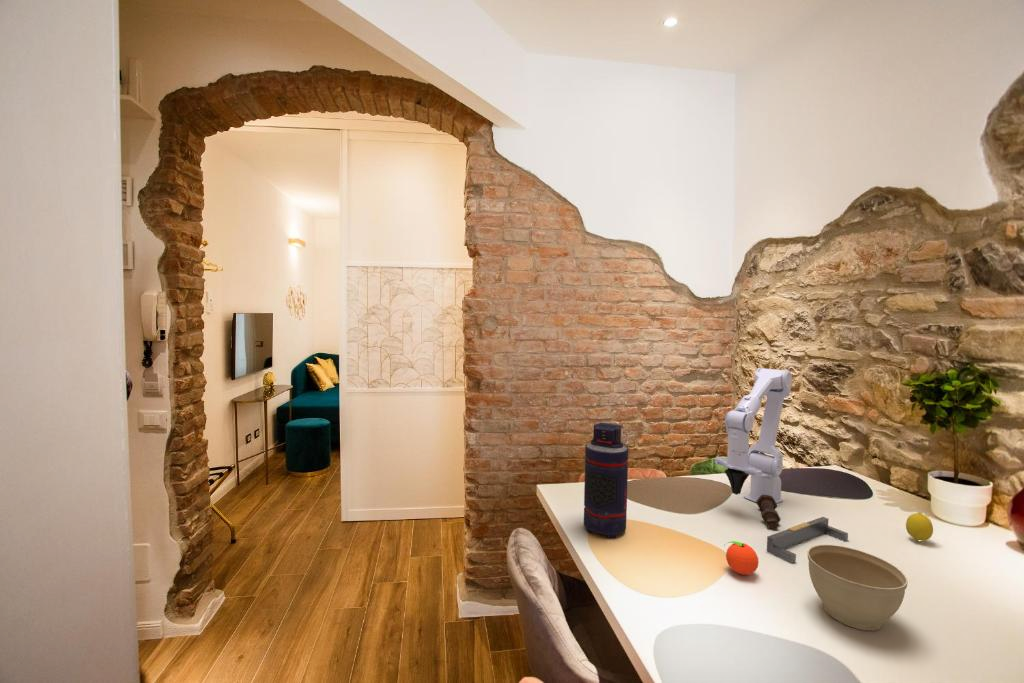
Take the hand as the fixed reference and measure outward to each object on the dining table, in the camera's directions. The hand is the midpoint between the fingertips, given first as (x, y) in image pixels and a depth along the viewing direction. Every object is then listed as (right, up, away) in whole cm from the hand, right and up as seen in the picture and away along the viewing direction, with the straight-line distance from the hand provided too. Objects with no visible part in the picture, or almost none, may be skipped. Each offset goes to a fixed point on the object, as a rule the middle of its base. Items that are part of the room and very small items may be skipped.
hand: (736, 493), depth 139 cm
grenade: (-42, -7, -10) cm, 44 cm away
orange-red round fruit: (-15, -8, -31) cm, 36 cm away
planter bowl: (0, -10, -47) cm, 48 cm away
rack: (+10, -8, -19) cm, 22 cm away
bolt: (+8, -7, -3) cm, 11 cm away
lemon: (+42, -8, -15) cm, 46 cm away
